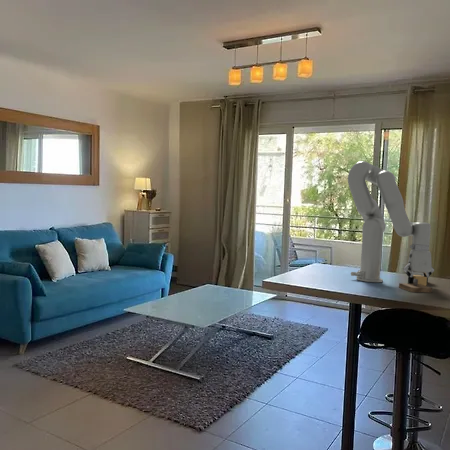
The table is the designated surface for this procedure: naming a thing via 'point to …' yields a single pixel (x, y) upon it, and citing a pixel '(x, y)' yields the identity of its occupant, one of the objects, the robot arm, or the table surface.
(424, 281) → the cap
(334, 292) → the table surface
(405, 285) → the post plinth
